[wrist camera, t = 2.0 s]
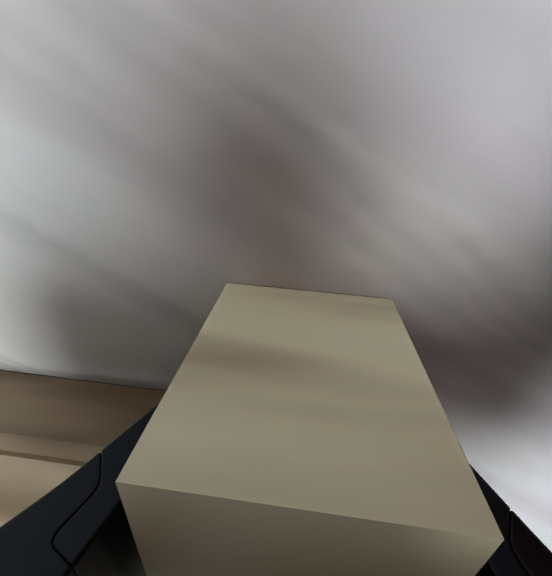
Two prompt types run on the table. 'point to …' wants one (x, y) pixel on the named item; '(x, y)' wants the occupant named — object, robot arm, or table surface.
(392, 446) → the oak block
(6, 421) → the base board
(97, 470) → the robot arm
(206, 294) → the table surface
